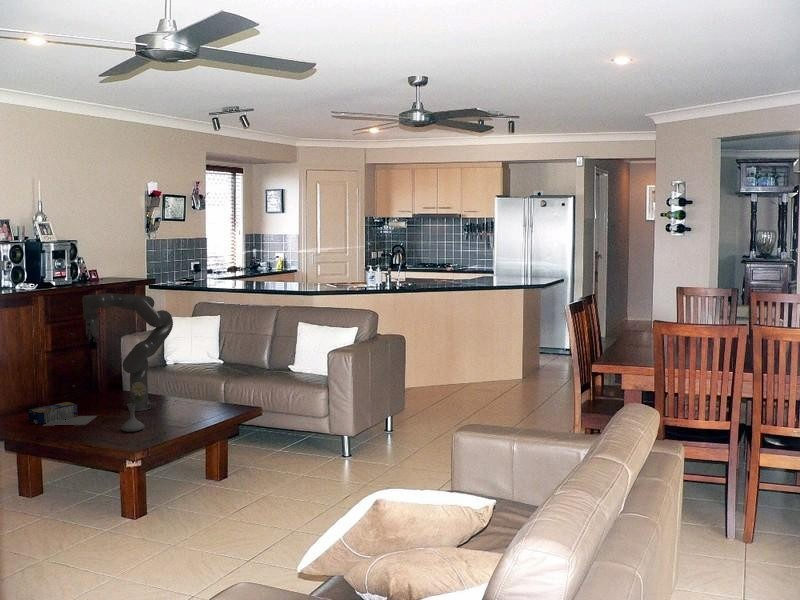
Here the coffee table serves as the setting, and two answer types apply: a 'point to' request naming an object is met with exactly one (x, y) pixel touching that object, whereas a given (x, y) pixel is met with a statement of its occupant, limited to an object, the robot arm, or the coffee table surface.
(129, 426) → the flower in vase
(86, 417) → the mat
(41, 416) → the beverage box
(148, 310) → the robot arm
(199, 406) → the coffee table surface
